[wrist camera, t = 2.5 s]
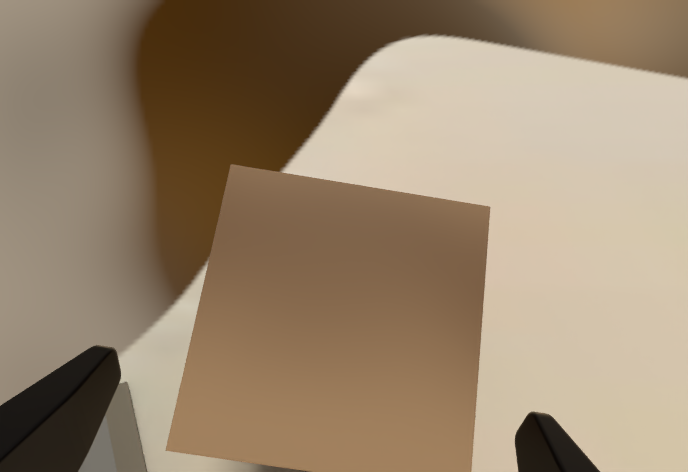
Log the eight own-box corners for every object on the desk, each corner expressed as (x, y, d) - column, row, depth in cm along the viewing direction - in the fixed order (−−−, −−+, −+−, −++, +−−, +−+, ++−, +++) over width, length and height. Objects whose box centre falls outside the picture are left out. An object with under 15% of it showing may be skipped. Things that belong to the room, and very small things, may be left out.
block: (370, 388, 18) (469, 495, 6) (265, 372, 18) (165, 450, 6) (383, 284, 19) (490, 206, 7) (285, 268, 19) (230, 164, 7)
